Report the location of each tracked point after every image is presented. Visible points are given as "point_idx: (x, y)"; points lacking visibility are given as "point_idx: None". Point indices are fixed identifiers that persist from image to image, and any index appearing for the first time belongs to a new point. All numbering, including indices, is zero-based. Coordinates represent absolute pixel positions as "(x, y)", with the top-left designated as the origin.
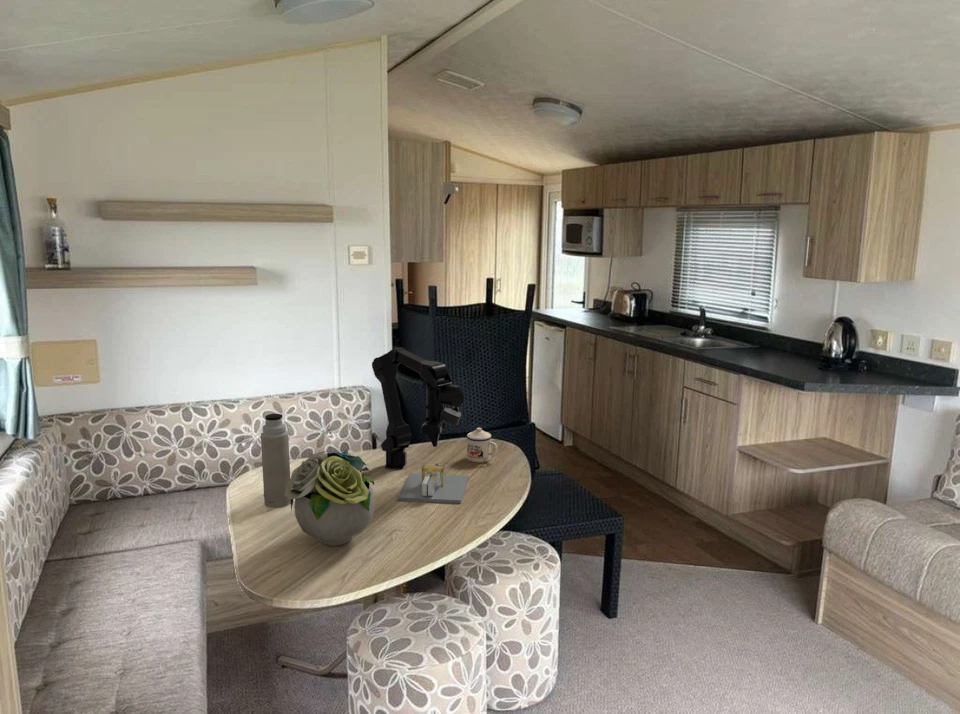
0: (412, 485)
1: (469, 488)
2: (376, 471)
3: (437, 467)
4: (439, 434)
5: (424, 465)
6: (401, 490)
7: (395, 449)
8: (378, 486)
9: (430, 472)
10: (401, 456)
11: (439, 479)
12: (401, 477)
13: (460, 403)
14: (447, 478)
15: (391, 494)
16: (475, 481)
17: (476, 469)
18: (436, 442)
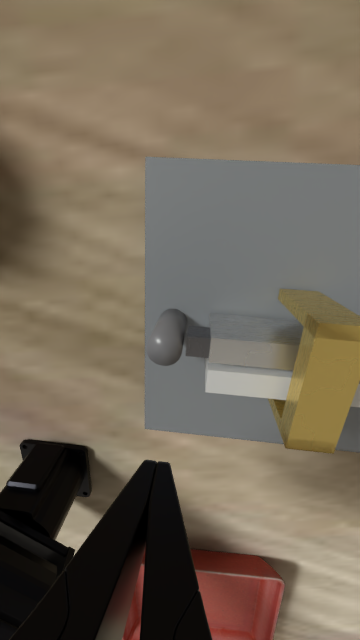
0: None
1: (301, 141)
2: None
3: (343, 367)
4: (45, 603)
5: (291, 441)
6: None
7: (41, 546)
8: (252, 499)
9: None
10: (48, 490)
11: (231, 315)
12: (166, 444)
13: None
14: (199, 277)
15: (330, 465)
16: (193, 109)
17: (8, 119)
18: (180, 517)
